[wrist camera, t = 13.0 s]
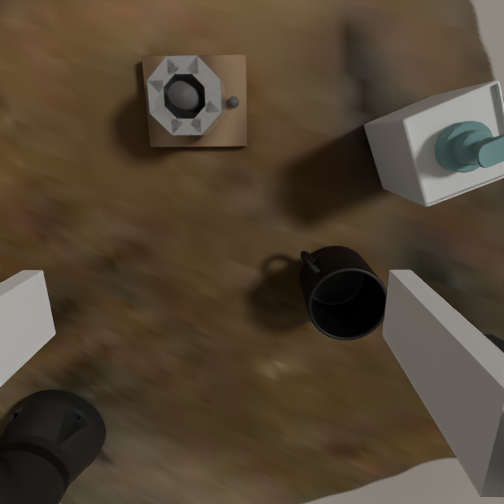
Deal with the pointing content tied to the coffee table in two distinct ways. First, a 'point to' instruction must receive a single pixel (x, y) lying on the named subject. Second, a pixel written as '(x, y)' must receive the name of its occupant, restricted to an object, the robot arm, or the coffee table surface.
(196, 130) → the ring
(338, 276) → the mug
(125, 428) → the coffee table surface
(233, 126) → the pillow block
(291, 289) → the coffee table surface
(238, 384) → the coffee table surface
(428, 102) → the soap bottle
